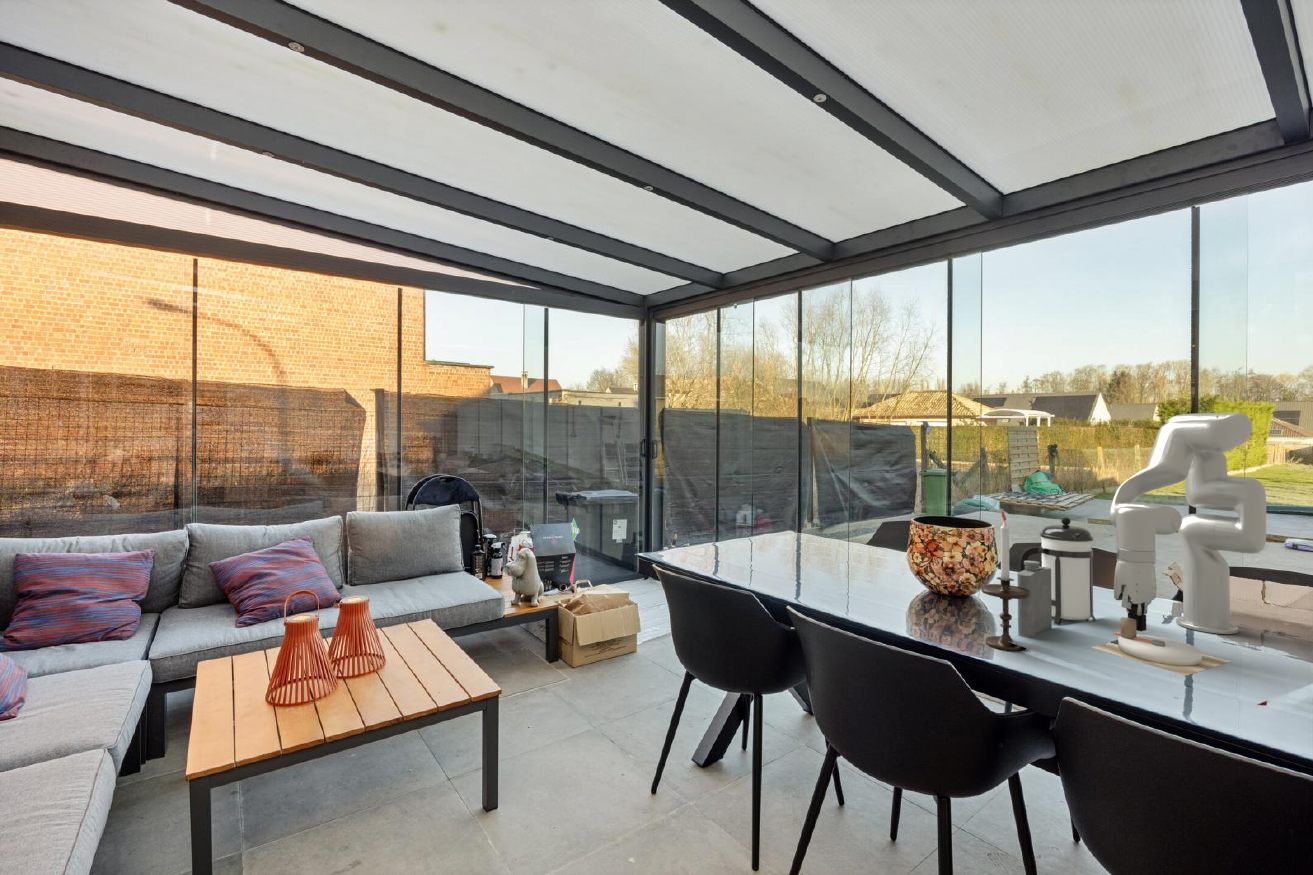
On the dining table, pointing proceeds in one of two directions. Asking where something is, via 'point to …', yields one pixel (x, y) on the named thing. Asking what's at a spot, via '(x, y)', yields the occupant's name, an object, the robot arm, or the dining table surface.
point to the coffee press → (1067, 569)
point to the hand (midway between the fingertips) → (1137, 629)
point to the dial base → (1181, 669)
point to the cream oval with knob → (1155, 646)
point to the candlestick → (1005, 596)
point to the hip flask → (1035, 600)
